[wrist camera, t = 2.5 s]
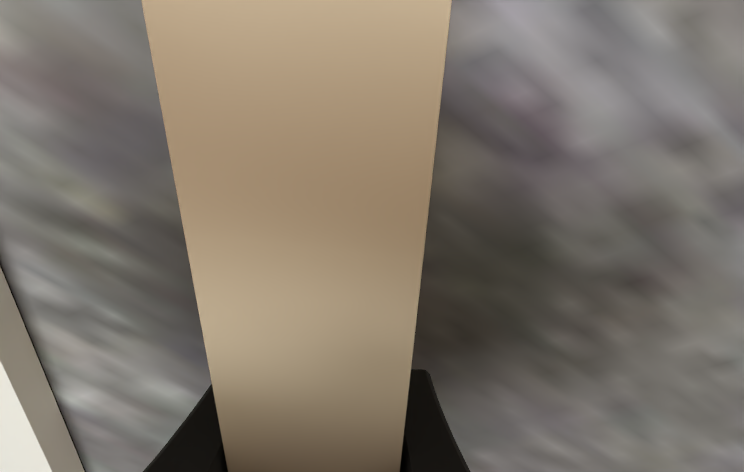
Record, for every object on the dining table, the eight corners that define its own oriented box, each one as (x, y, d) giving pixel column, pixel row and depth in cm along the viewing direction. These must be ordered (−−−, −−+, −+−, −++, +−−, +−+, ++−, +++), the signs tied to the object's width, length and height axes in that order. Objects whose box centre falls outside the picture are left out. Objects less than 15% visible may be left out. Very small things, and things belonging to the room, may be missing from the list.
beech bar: (375, 544, 17) (374, 701, 14) (291, 541, 17) (269, 696, 13) (426, -100, 7) (465, -121, 4) (236, -109, 7) (115, -139, 4)
